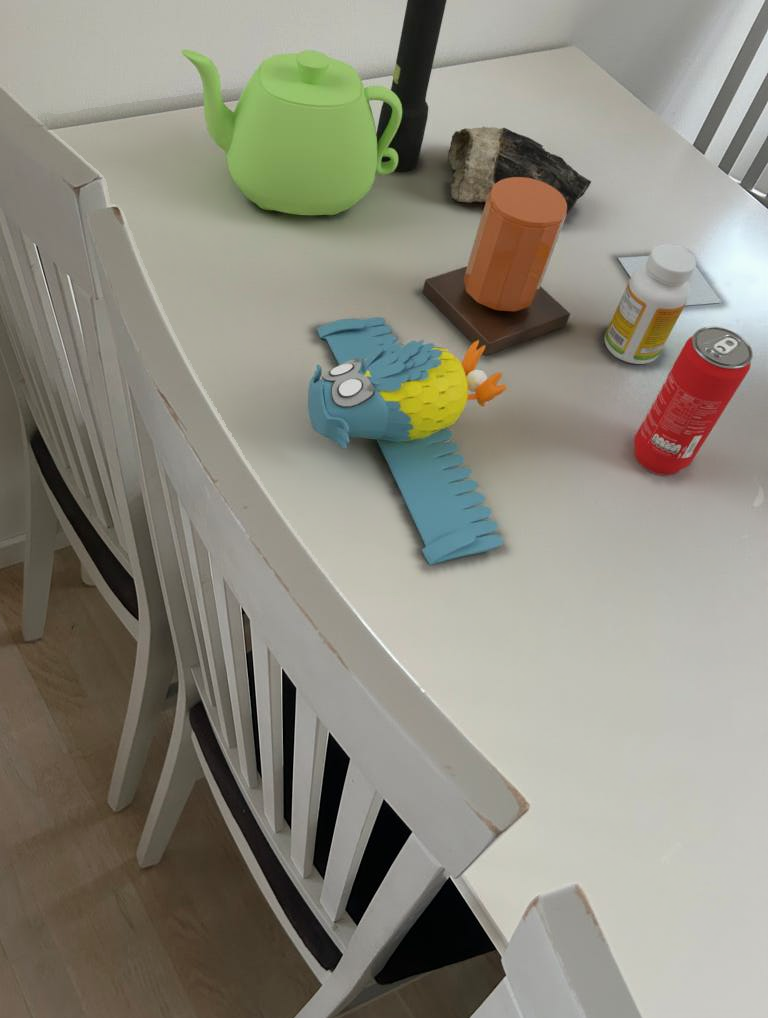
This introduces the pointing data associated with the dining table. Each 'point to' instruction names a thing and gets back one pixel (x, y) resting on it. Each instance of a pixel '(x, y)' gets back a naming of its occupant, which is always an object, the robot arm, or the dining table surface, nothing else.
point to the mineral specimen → (506, 164)
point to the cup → (514, 243)
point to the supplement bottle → (651, 305)
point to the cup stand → (492, 314)
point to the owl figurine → (409, 425)
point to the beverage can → (692, 399)
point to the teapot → (301, 132)
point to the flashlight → (413, 79)
